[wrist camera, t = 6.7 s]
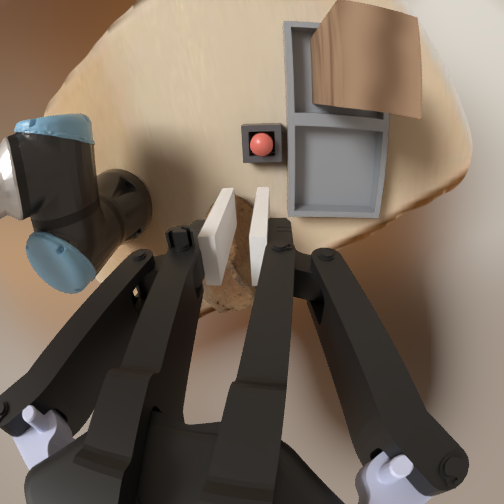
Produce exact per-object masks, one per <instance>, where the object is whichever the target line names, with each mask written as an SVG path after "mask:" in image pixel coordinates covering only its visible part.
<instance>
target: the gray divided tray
mask: <svg viewBox="0 0 504 504" xmlns="http://www.w3.org/2000/svg"><path fill="white" fill-rule="evenodd" d="M320 24H321V23H314V22H296V21H284V22H283V41H284V60H285V83H286V116H287V210H288V217H354V218H379V214H380V207H381V201H382V194H383V186H384V178H385V169H386V160H387V148H388V134H389V114H390V113H384V112H378V111H370V110H362V109H353V108H343V107H337V106H329V105H321V104H313V103H312V82H311V57H310V39H311V37H312V36H313V34H314V33H315V31H316V30H317V28H318V27H319V25H320Z"/></svg>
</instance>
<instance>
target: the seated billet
mask: <svg viewBox="0 0 504 504" xmlns="http://www.w3.org/2000/svg"><path fill="white" fill-rule="evenodd" d="M310 57H311V82H312V103H313V104H321V105H329V106H337V107H343V108H353V109H362V110H370V111H378V112H384V113H391V114H397V115H402V116H408V117H413V118H417V119H421V113H422V63H421V47H420V36H419V26H418V19H417V17H414V16H411V15H407V14H404V13H401V12H397V11H394V10H390V9H386V8H382V7H378V6H373V5H369V4H364V3H359V2H353V1H347V0H337V1H336V2H335V4H334V5H333V7H332V8H331V9H330V11H329V12H328V14H327V15H326V17H325V18H324V20H323V21H322V22H321V24H320V25H319V27H318V28H317V30H316V31H315V33H314V34H313V36H312V37H311V39H310Z"/></svg>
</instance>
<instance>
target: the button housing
mask: <svg viewBox="0 0 504 504" xmlns="http://www.w3.org/2000/svg"><path fill="white" fill-rule="evenodd" d="M241 131H242V148H243V163H254V162H282V147H281V123H261V124H243V125H242V126H241ZM257 131H274V132H275V152H270V153H269V154H268V155H265V156H258V155H256V154H254V153H251V148H250V132H257Z"/></svg>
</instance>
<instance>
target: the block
mask: <svg viewBox="0 0 504 504" xmlns="http://www.w3.org/2000/svg"><path fill="white" fill-rule="evenodd" d="M214 204H215V203H213V204H212V206H211V207H210V209H209V212H208V213H207V215H206V219H207V217H208V215H209V213H210V211H211V209H212V207H213V205H214ZM235 207H236V219H237V227H236V230H235V234H234V238H233V242H232V245H231V249H230V253H229V257H228V261H227V264H226V268H225V272H224V276H223V280H222V284H221V285H206V282H205V277H204V279H203V282H202V283H203V288H204V293H203V297H204V298H205V300H206V301H207V302H208V303H209V304H210V305H211V306H212V307H213V308H215V309H216V310H217V311H218V312H220V313H221V312H226V311H228V310H231V309H235V310H243V309H247V308H248V307H251V306H253V302H254V298H255V293H256V288H257V286H252V279H251V262H250V245H249V233H250V227H251V222H252V216H253V208H252V207H251V206H249V204H248V203H247V202H246V201H245V200H244V199H242V198H241V197H238V196H236V195H235Z"/></svg>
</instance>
